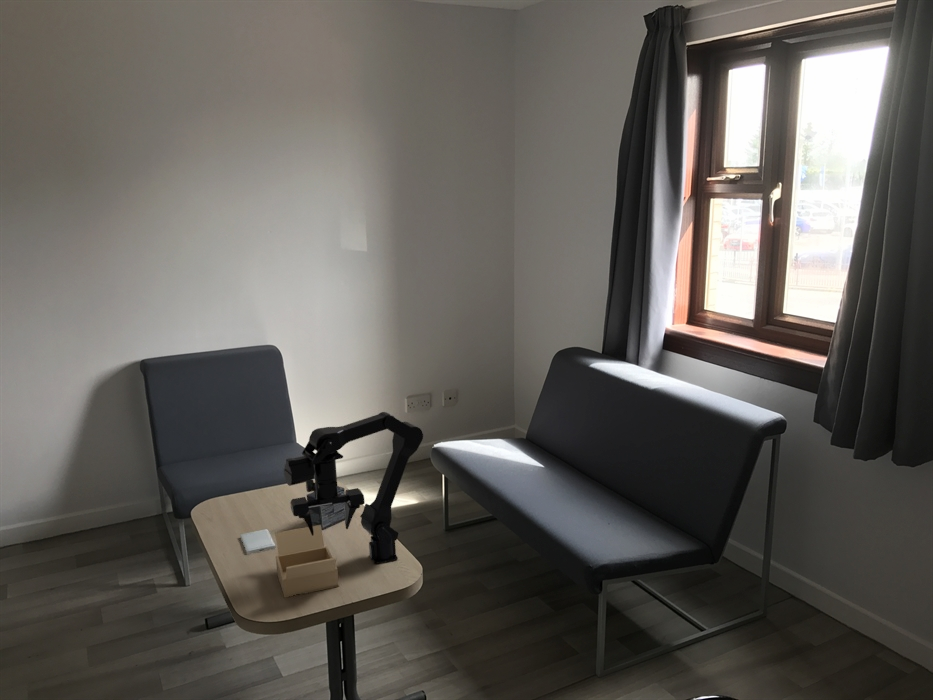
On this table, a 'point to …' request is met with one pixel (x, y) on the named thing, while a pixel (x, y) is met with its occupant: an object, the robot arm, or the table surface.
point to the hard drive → (257, 541)
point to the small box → (327, 512)
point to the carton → (306, 582)
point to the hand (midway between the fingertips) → (329, 531)
